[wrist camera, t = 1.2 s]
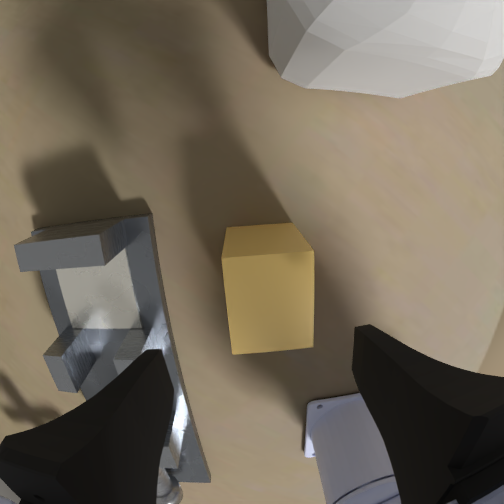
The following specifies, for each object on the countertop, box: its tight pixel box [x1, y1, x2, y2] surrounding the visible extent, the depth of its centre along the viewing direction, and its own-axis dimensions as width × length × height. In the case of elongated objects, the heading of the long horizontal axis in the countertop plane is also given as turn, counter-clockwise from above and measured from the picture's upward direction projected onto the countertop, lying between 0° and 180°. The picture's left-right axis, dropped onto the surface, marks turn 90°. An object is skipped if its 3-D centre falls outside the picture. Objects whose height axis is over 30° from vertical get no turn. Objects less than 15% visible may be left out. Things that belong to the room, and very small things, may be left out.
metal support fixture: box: [14, 213, 211, 483], centre depth 20 cm, size 9×27×5 cm, turn 4°
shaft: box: [156, 467, 183, 504], centre depth 21 cm, size 4×14×4 cm, turn 4°
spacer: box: [221, 223, 314, 355], centre depth 17 cm, size 4×5×6 cm
